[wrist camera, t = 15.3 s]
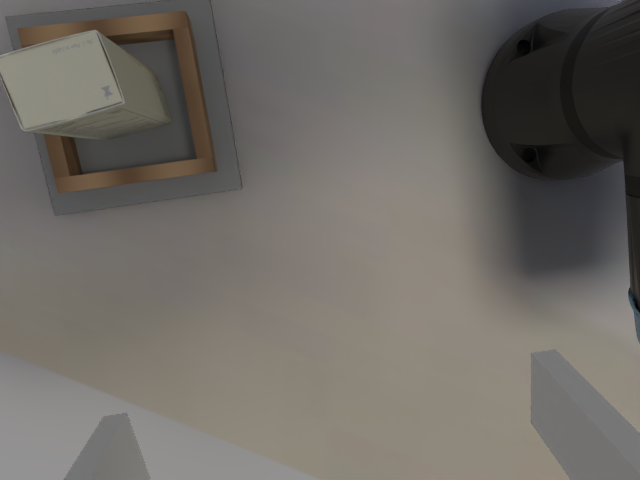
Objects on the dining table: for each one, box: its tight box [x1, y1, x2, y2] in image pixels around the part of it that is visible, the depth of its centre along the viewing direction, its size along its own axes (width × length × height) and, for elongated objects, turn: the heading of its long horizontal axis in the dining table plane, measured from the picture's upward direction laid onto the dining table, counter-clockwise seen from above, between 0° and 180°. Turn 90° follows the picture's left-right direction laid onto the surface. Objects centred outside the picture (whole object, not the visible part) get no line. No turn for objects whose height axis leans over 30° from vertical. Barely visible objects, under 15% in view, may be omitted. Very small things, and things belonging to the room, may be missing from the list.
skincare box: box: [0, 30, 172, 141], centre depth 30 cm, size 6×4×12 cm
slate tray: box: [5, 0, 242, 216], centre depth 37 cm, size 16×16×1 cm
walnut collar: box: [17, 11, 218, 193], centre depth 35 cm, size 12×12×2 cm
